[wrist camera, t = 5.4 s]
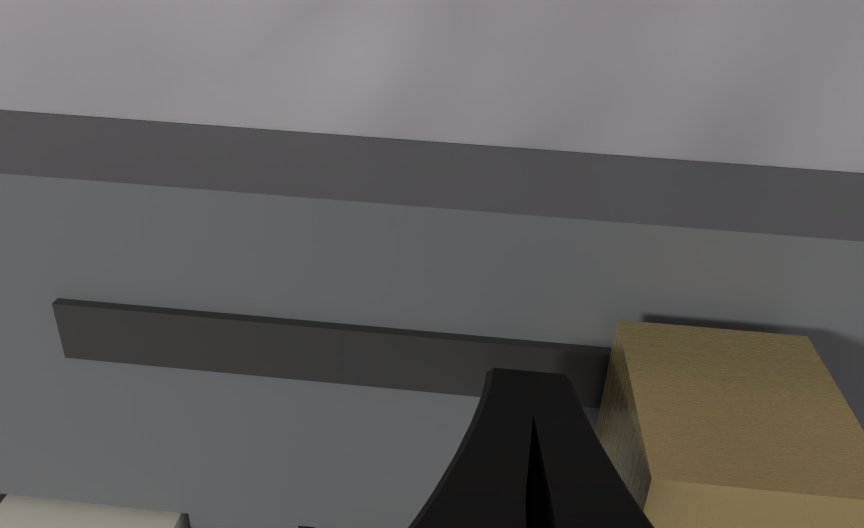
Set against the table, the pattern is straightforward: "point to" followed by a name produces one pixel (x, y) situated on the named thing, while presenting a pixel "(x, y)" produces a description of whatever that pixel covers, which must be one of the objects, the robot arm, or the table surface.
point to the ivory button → (82, 515)
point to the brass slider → (730, 429)
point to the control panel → (359, 302)
